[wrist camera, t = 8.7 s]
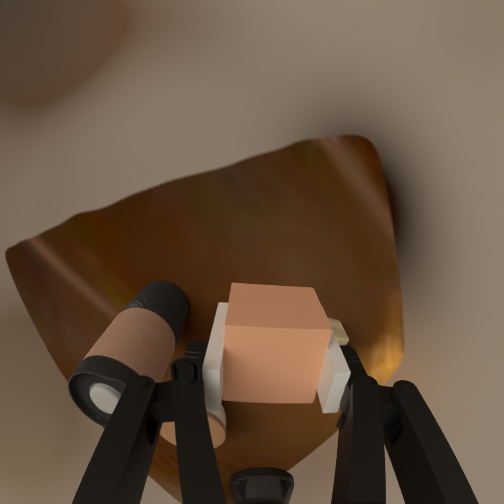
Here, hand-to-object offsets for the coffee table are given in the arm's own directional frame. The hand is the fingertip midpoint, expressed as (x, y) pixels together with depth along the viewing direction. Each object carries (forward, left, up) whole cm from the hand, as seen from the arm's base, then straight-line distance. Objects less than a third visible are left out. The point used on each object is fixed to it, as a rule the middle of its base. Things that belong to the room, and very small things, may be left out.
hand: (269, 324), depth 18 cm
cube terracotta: (0, 0, 0) cm, 0 cm away
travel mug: (-9, +13, -19) cm, 25 cm away
